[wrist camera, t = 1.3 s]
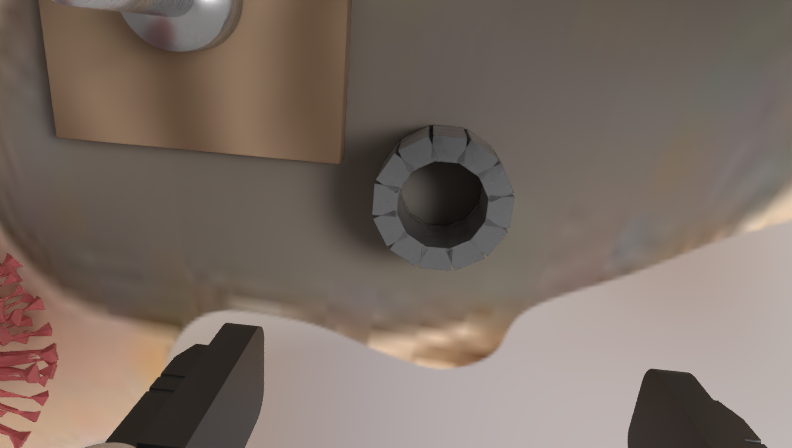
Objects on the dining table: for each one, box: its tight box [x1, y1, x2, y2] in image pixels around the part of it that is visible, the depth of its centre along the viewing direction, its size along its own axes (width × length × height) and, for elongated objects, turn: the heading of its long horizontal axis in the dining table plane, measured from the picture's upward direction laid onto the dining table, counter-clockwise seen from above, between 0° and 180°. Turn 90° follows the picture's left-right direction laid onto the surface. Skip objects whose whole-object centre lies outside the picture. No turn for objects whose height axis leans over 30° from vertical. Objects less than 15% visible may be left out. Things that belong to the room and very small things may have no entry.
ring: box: [372, 125, 514, 271], centre depth 25 cm, size 6×6×3 cm
